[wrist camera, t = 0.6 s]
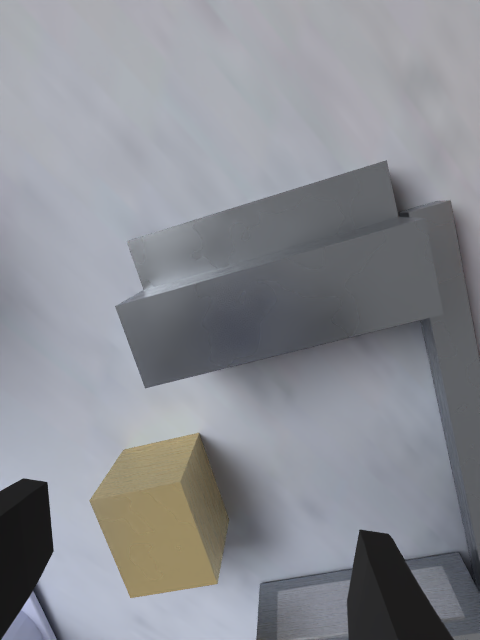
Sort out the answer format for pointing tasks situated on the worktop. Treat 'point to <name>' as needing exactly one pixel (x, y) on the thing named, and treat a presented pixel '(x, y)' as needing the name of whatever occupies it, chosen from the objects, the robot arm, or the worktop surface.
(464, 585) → the sliding jaw
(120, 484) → the brass block
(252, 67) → the worktop surface
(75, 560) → the worktop surface
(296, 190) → the vise
